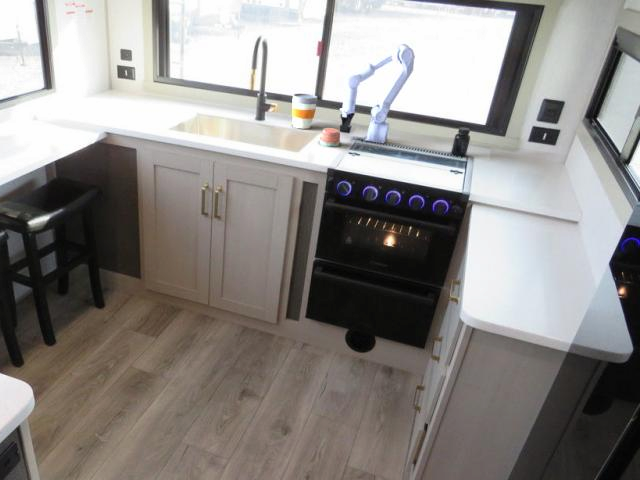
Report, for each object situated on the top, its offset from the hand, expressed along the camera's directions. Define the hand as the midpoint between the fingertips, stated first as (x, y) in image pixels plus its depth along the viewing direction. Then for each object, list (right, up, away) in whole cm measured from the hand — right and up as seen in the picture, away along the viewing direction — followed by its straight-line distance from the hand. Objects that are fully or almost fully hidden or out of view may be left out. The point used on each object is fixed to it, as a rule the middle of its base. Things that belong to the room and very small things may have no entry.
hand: (345, 128), depth 280 cm
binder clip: (0, -1, +1) cm, 1 cm away
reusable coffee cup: (-20, +6, +15) cm, 25 cm away
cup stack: (-9, -9, -7) cm, 14 cm away
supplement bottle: (+51, -15, -10) cm, 54 cm away
